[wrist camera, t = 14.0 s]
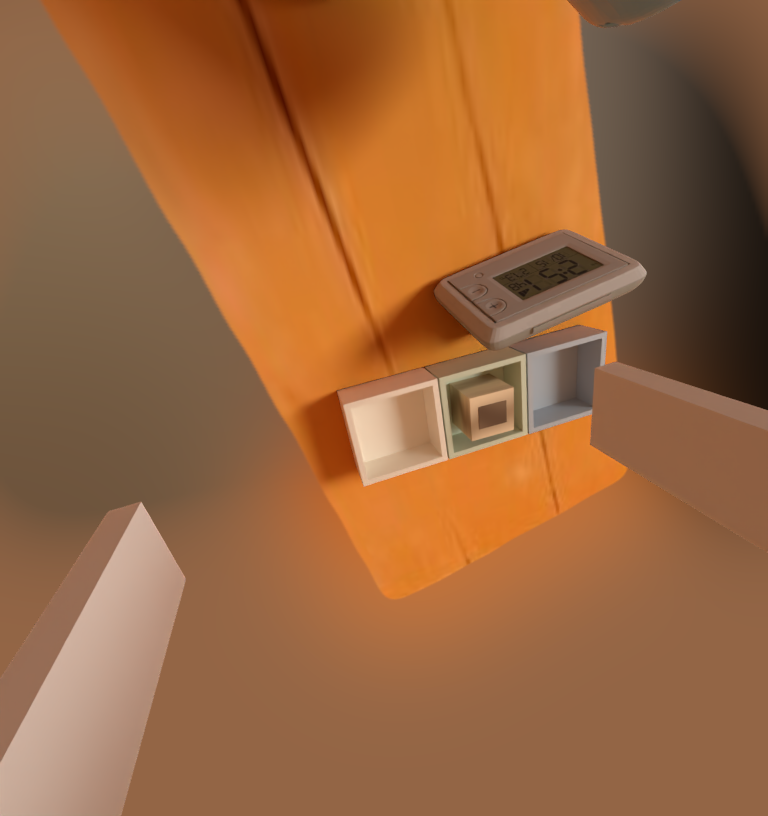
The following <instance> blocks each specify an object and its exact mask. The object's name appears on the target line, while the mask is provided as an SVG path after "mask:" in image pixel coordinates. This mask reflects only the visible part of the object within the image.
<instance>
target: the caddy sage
mask: <svg viewBox="0 0 768 816" xmlns="http://www.w3.org/2000/svg"><path fill="white" fill-rule="evenodd" d="M425 369H426V370H427V371H428V372H429V373H431V374H432V375H433V376H434V377H436V378H437V380H438V388H439V395H440V403H441V410H442V418H443V426H444V433H445V441H446V448H447V456H448V458H449V459H452V458H455V457H458V456H461V455H464V454H468V453H471V452H474V451H477V450H480V449H483V448H487V447H490V446H493V445H496V444H499V443H502V442H505V441H509V440H512V439H515V438H518V437H521V436H524V435H528V430H527V388H526V354H524V353H522V352H519V351H517V350H514V349H512V348H509V347H506V348H503V349H500V350H497V351H492V350H489V349H488V350H485V351H481V352H477V353H474V354H470V355H466V356H463V357H459V358H455V359H451V360H448V361H444V362H440V363H437V364H433V365H429V366H426V367H425ZM485 374H491V375H493V376H495V377H496V378H498V379H500V380H502V381H503V382H505V383H507V384H509V385H510V386H512V387H514V430H511V431H507V432H504V433H500V434H497V435H493V436H489V437H486V438H482V439H479V440H475V441H471V440H470V439H469V438H468V437H467V436H466V435H465V434H464V433H463V432H462V431H461V430H460V429H459V428H458V427H457V426H456V425H455V424H454V423H453V422H452V411H451V399H450V388H449V383H453V382H457V381H461V380H465V379H469V378H473V377H477V376H481V375H485Z"/></svg>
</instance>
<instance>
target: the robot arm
mask: <svg viewBox="0 0 768 816" xmlns="http://www.w3.org/2000/svg"><path fill="white" fill-rule="evenodd" d="M567 1H568V2H569V3H570V4H571V5H572V6H573V7H574V8H575V9H576V10H577V11H578V12H579V14H580V15H581V16H582V17H583V18H584V19H585V20H586V21H588V22H589V23H591V24H592V25H595V26H597V27H601V28H611V27H617V26H620V25H631V24H634V23H637V22H639V21H642V20H645V19H647V18H649V17H651V16H653V15H655V14H657V13H659V12H661V11H663V10H665V9H666V8H668V7H670V6H672V5H674V4H675V3H677V2H679V1H680V0H567ZM590 445H592V446H593V447H595V448H597V449H598V450H600V451H601V452H603V453H605V454H606V455H608V456H610V457H611V458H613V459H615V460H616V461H618V462H619V463H621V464H623V465H624V466H626V467H628V468H629V469H631V470H633V471H634V472H636V473H637V474H639V475H641V476H643V477H644V478H646V479H647V480H649V481H650V482H652V483H654V484H656V485H657V486H659V487H661V488H662V489H664V490H665V491H667V492H669V493H670V494H672V495H674V496H675V497H677V498H678V499H680V500H682V501H683V502H685V503H686V504H688V505H690V506H691V507H693V508H695V509H696V510H698V511H700V512H701V513H703V514H705V515H706V516H708V517H710V518H711V519H713V520H714V521H716V522H717V523H719V524H721V525H723V526H724V527H726V528H727V529H729V530H731V531H732V532H734V533H736V534H737V535H739V536H740V537H742V538H744V539H745V540H747V541H749V542H750V543H752V544H753V545H755V546H757V547H758V548H760V549H762V550H763V551H765V552H767V553H768V410H765V409H762V408H758V407H755V406H752V405H749V404H746V403H743V402H740V401H737V400H734V399H731V398H727V397H724V396H721V395H718V394H715V393H712V392H709V391H705V390H702V389H699V388H696V387H693V386H690V385H687V384H684V383H681V382H678V381H674V380H671V379H668V378H665V377H662V376H659V375H656V374H653V373H650V372H647V371H643V370H640V369H637V368H634V367H631V366H628V365H625V364H622V363H619V362H613V363H610V364H607V365H603V366H600V367H596V368H595V372H594V389H593V406H592V423H591V440H590ZM185 580H186V578H185V577H184V575H183V573H182V571H181V570H180V568H179V566H178V565H177V563H176V561H175V559H174V558H173V556H172V554H171V552H170V551H169V549H168V547H167V546H166V544H165V542H164V540H163V539H162V537H161V535H160V534H159V532H158V530H157V528H156V527H155V525H154V523H153V521H152V520H151V518H150V516H149V515H148V513H147V511H146V510H145V508H144V506H143V504H142V502H138V503H135V504H132V505H128V506H125V507H121V508H118V509H115V510H111V511H108V512H107V514H106V516H105V517H104V519H103V520H102V522H101V523H100V525H99V526H98V528H97V530H96V531H95V533H94V534H93V536H92V537H91V539H90V540H89V542H88V543H87V545H86V546H85V548H84V550H83V551H82V553H81V554H80V556H79V558H78V559H77V561H76V562H75V563H74V565H73V567H72V568H71V570H70V571H69V573H68V574H67V576H66V577H65V579H64V581H63V582H62V584H61V585H60V587H59V588H58V590H57V591H56V593H55V594H54V596H53V598H52V599H51V601H50V602H49V604H48V605H47V607H46V608H45V610H44V611H43V613H42V615H41V616H40V618H39V619H38V621H37V622H36V624H35V625H34V627H33V628H32V630H31V632H30V633H29V635H28V636H27V638H26V639H25V641H24V642H23V644H22V646H21V647H20V649H19V650H18V652H17V654H16V655H15V656H14V658H13V659H12V661H11V663H10V664H9V666H8V667H7V669H6V670H5V672H4V673H3V675H2V676H1V678H0V816H121V814H122V810H123V806H124V802H125V799H126V795H127V792H128V788H129V784H130V781H131V777H132V773H133V769H134V766H135V762H136V758H137V755H138V751H139V748H140V744H141V741H142V737H143V733H144V730H145V726H146V722H147V719H148V715H149V711H150V708H151V704H152V700H153V697H154V693H155V689H156V686H157V682H158V679H159V675H160V672H161V668H162V664H163V661H164V657H165V653H166V650H167V646H168V642H169V639H170V635H171V631H172V628H173V624H174V620H175V616H176V613H177V610H178V606H179V602H180V599H181V595H182V591H183V588H184V584H185Z"/></svg>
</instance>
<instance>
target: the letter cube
mask: <svg viewBox="0 0 768 816" xmlns="http://www.w3.org/2000/svg"><path fill="white" fill-rule="evenodd" d="M449 388H450V399H451V411H452V422H453V423H454V424H455V425H456V426H457V427H458V428H459V429H460V430H461V431H462V432H463V433H464V434H465V435H466V436H467V437H468V438H469V439H470V440H471V441H475V440H479V439H482V438H486V437H489V436H493V435H497V434H500V433H504V432H507V431H511V430H514V387H512V386H510V385H509V384H507V383H505V382H503V381H502V380H500V379H498V378H496V377H495V376H493V375H491V374H485V375H481V376H477V377H473V378H469V379H465V380H461V381H457V382H453V383H449Z"/></svg>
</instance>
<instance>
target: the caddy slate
mask: <svg viewBox="0 0 768 816" xmlns="http://www.w3.org/2000/svg"><path fill="white" fill-rule="evenodd" d="M606 340H607V331H603V330H599V329H595V328H590V327H586V326H582V325H577V326H573V327H570V328H566V329H562V330H558V331H555V332H551V333H547V334H544V335H540V336H536V337H533V338H529V339H525V340H522V341H520V342H517V343H515V344H513V345H510V346H508V347H509V348H512V349H514V350H517V351H519V352H522V353H524V354H526V388H527V430H528V434H531V433H534V432H537V431H540V430H543V429H546V428H550V427H553V426H556V425H559V424H562V423H565V422H568V421H572V420H575V419H578V418H581V417H584V416H587V415H591V414H592V406H593V389H594V372H595V368H596V367H600V366H603V365H605V354H606Z"/></svg>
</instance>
